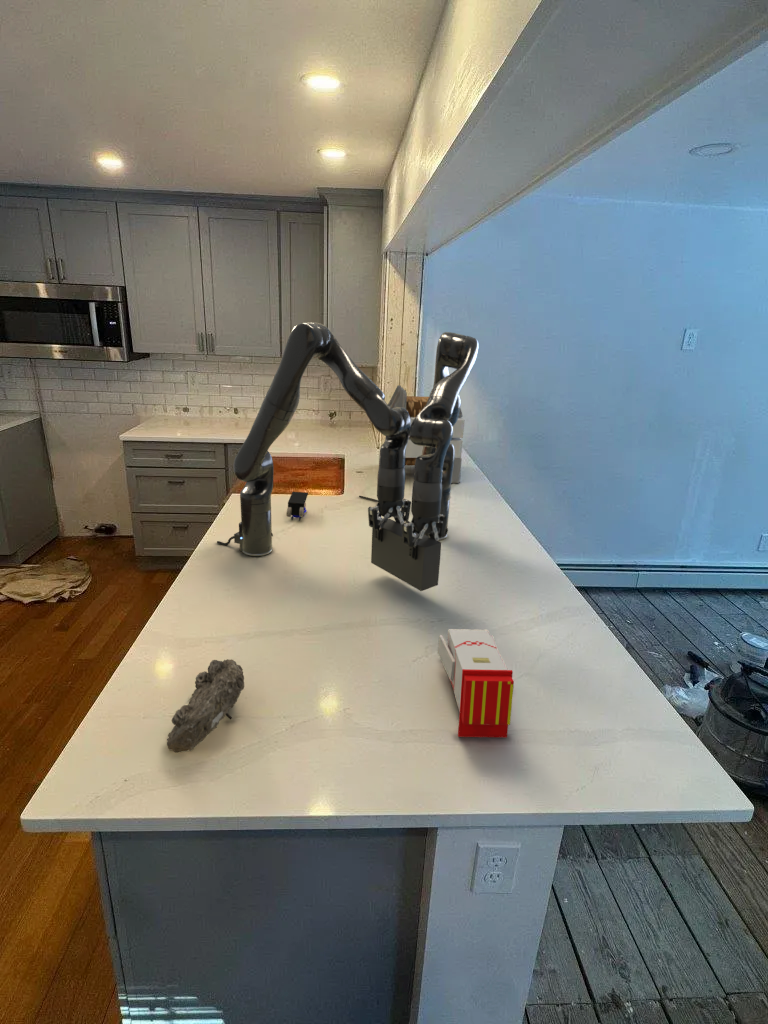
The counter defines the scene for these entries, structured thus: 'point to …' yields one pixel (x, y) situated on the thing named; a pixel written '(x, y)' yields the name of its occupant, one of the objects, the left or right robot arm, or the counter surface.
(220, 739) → the counter surface
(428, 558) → the box
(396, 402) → the transformer
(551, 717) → the counter surface
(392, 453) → the left robot arm
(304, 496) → the figurine character
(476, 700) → the toy
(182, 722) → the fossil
